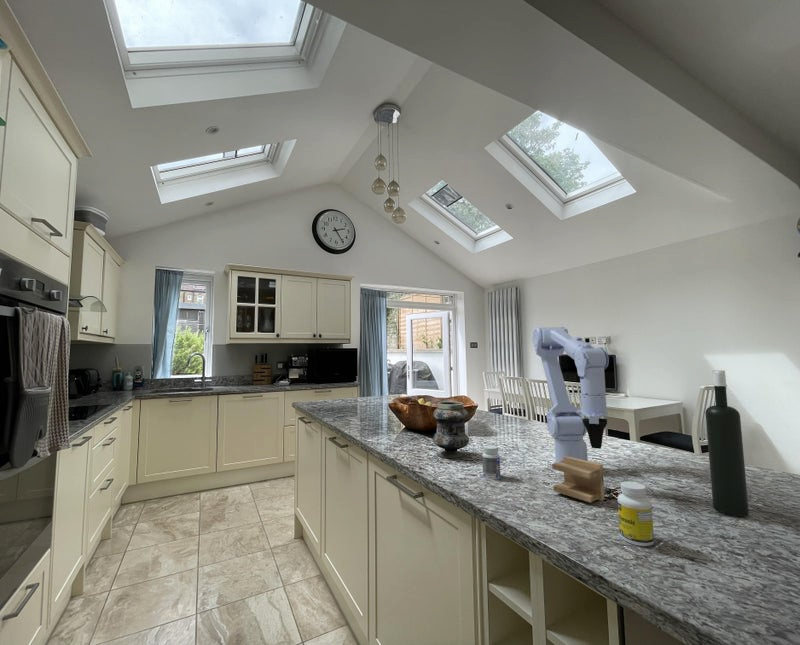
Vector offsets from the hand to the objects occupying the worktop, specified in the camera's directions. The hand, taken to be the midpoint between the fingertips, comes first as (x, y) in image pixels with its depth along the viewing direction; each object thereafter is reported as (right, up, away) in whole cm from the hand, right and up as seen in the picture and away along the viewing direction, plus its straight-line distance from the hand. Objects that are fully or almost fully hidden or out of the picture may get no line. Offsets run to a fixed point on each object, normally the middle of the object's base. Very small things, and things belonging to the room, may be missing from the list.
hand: (596, 447), depth 95 cm
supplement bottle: (-7, -8, -27) cm, 29 cm away
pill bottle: (-25, -11, +8) cm, 28 cm away
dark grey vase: (-33, -13, +29) cm, 46 cm away
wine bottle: (+21, -9, -15) cm, 27 cm away
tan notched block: (-10, -5, -8) cm, 14 cm away
